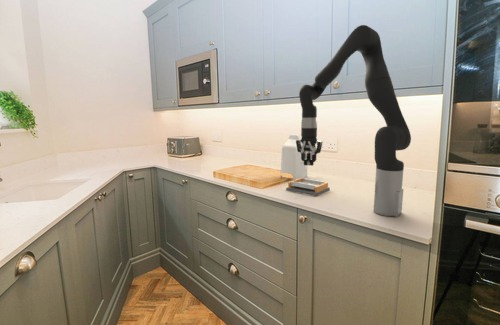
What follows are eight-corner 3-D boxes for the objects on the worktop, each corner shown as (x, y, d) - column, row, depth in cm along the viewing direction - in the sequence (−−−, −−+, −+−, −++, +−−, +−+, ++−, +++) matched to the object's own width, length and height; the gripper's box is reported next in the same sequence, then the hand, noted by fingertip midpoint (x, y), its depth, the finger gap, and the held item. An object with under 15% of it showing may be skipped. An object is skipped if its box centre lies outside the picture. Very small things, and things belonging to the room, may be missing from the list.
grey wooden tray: (324, 185, 139) (324, 181, 138) (314, 189, 131) (314, 185, 131) (302, 181, 147) (302, 177, 147) (291, 185, 140) (291, 181, 139)
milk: (280, 176, 170) (280, 134, 166) (292, 173, 178) (292, 133, 173) (295, 180, 161) (296, 135, 157) (307, 176, 169) (308, 134, 164)
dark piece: (300, 165, 136) (300, 145, 134) (301, 163, 141) (301, 144, 139) (313, 166, 134) (314, 145, 132) (314, 164, 139) (314, 144, 138)
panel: (329, 189, 139) (329, 182, 138) (316, 196, 129) (316, 188, 128) (300, 184, 150) (300, 177, 150) (286, 190, 140) (286, 182, 139)
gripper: (326, 126, 132) (325, 161, 135) (300, 126, 141) (300, 158, 144) (318, 127, 126) (317, 163, 129) (292, 127, 136) (292, 160, 139)
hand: (308, 161), depth 137 cm, fingers closed on dark piece, 5 cm apart
